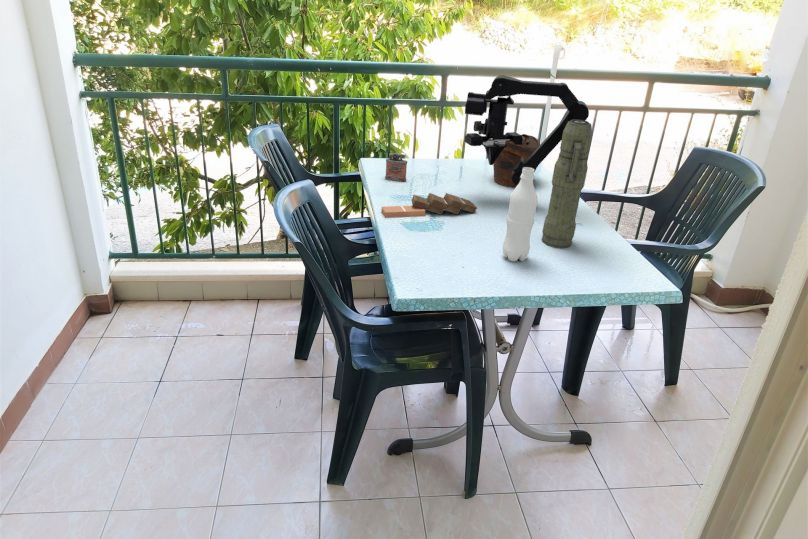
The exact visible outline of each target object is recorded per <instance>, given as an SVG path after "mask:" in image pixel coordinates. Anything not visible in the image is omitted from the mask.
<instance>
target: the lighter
mask: <svg viewBox="0 0 808 539" xmlns="http://www.w3.org/2000/svg"><path fill="white" fill-rule="evenodd" d="M406 158H407V156H406V154H404V153H403V154H402V153H398V152H395V153H392V152H391V153H389V157H388V158H386V159H385V177H384V178H385V180H386V181H390V182H398V183H405V182H407V165H408V160H405V159H406Z"/></svg>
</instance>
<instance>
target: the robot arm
mask: <svg viewBox="0 0 808 539" xmlns="http://www.w3.org/2000/svg"><path fill="white" fill-rule="evenodd" d="M515 95H526V96H527V95H530V96H531V95H532V96H542V97H553V98H554V97H557V98H559V100H560V101H561V102H562V103H563V105H564V107H565V108H566V111H565V113H564V114H563V116H562V118H561V119H560V122H559V123H558V124H557V125H556V126H555V127H554V129H553V130H552V131H551V132H550V133H549V134H547V137H546V138H544V140H543V141H542V142H540V145H539V147H538V148H537V149H536V150H535V151H534V152H533V153H532V154H531V156H529V157H528V158H526V159H525V160H524V159H523V157H521V158H520V160H519V161H518V163H517V164H515V165H514V167H513V171H512V182H513V183H514V184H515V185H516V187H517V185H518V184H519V182H520V180H521V178H520V176H521V174H522V170H523V168H524V167H530V168H533V169H534V173H536V170H537V169H538V167H539V165H540V164H541V163H542V162H543V161H544V160H545V159H546V158H547V157H548V156H549V155H550V154H551V152H552V151H553V150H554V149H555V148H556V147H557V146H558V145H559V143H561V141H562V135H563V131H564V129H565V127H566V125H567V123H568V121H571V120H585V121H587V119H588V118H589V114H590V110H589V107H588V105H587V104H586V103H585V102H584V101H583V100H579V99H578V98H577V97H576V95H575V94H574V93H573V91H572V90H571V89H570V88H569V85H568V84H567V83H565V82H558V83H557V82H547V81H536V80H535V81H532V80H523V79H522V80H521V79H518V78H515V77H511V76H509V75H504V74H499V75H497V76H496V77H495V78H494V79H493V80H492V82H491V87H490V88H489V89H488V90H487V91H485V93H478V92H472V91H469V92H467V97H466V103H465V105H464V107H465V108H464V115H471V116H483V115H484V114H486V113H487V111H488V113H487V117H486V118H485V119H484V120H485V121H484V123H482V120H476V121H474V122H473V131H474V132H475V133H474V132H473V133H472V132H471V133H466V134H465V136H464V143H466V144H468V145H469V146H471V147H481V146H482V147H484V150H485V152H486V157H487V161H488V165H489V166H493V164H494V162H495V160H496V159H497V157H498V156H499V154H500V153H501V152H502V150H503V149H504V148H506V147H507V145H505V142H506V141H513V143H514V144H515V145H522V144H523V136H522V134H520V133H518V132H513V131H512V132H510V131H509V132H508V131H507V132H506V133H505V128H506V126H508V122H507V121H506V120H507V114H508V107H509V105H514V104H515V100H514V99H513V98H512V96H515ZM496 97H497V99H495V98H496ZM488 104H489V107H488ZM477 132H478V133H477ZM535 182H536V181H535V179H534V180H533V185H534V188H535ZM516 187H514V189H515V188H516Z"/></svg>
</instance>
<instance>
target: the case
mask: <svg viewBox="0 0 808 539" xmlns="http://www.w3.org/2000/svg"><path fill="white" fill-rule="evenodd" d="M521 135H522V136H523V144H522V145H515V144H514V143H513V141H506V142H505V145H507V147H506V148H504V149H503V150H502V152H501V153H500V154H499V156H498V157H497V159H496V160H495V162H494V164H493V165H492V166H493V180H494V182H495V183H497V184H498V185H501V186H505V187H511V188H515V187H516V185H515V184H514V183H513V182H512V171H513V167H514V165H515V164H517V163H518V161H519V160H520V158H521V157H523V159H524V160H525V159H526V158H528V157H529V156H531V154H532V153H533V152H534V151H535V150H536V149H537V148H538V147H539V145H540V144H541V142H540V140H539V139H538V138H537V137H535V136H533V135H529V134H526V133H523V134H521Z"/></svg>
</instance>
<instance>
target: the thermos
mask: <svg viewBox="0 0 808 539" xmlns="http://www.w3.org/2000/svg"><path fill="white" fill-rule="evenodd" d="M592 137H593V126H592V123H590V122H589V121H587V120H571V121H568V123H567V125H566V127H565V129H564V131H563V135H562V140H561V141H560V147H559V149H560V152H559V154H558V158H557V160H556V161H555V163H554V168H553V171H552V172H553V173H552V178H551V184H552V187H551V188H552V189H551V194H550V200H549V203H548V204H549V206H548V209H547V214H546V216H545V217H544V218H545V219H544V222H543V227H542V235H541V243H543V244H545V245H546V246H547V247H548V246H549V247H552V248H557V249H566V248H569V247H571V246H572V244H573V238H574V237H575V234H576V232H575V231H576V228H577V224H576V223H577V222H576V217H577V213H578V209H579V208H578V207H579V203H580V197H581V192H582V190H583V189H584V187H585V185H586V184H585V183H586V178H587V173H588V158H589V157H588V154H589V152H590V149H591V148H590V147H591V144H592Z"/></svg>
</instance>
